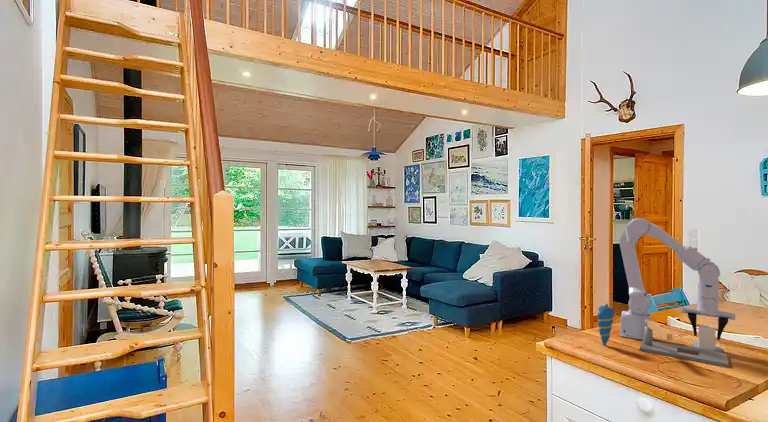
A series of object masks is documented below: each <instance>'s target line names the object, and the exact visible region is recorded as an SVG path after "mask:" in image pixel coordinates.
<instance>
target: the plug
mask: <svg viewBox="0 0 768 422" xmlns="http://www.w3.org/2000/svg"><path fill="white" fill-rule="evenodd" d="M716 331H717V329H716V327H715V326H713V325H706V324H698V331H697V334H698V337H697V339H698V340H697V343H698V346H699V348H704V349H710V350H715V346H716V342H717V341H716V340H717V332H716Z"/></svg>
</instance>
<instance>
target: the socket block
mask: <svg viewBox="0 0 768 422" xmlns="http://www.w3.org/2000/svg"><path fill="white" fill-rule="evenodd" d="M653 335H654V331H653V330H652V329H650V328H649V327H647V326H645V332H644V339H643V340H641V343H640V346H639V349H638V350H639V351H641V352H647V353H650V354H651V353H652V354H656V355H661V356H662V355H663V356H667V357H673V358H678V359H683V360H687V361H694V362H699V363H703V364H709V365H714V366H719V367H725V368H729V359H728V355H727V353H725V352H724V353H723V352H722V353H719V352H713V351H707V350H702V349H696V348H692V347H691V346H684V345H679V344H673V343H668V342H661V341H656V340H655V341H654V340H653Z"/></svg>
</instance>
